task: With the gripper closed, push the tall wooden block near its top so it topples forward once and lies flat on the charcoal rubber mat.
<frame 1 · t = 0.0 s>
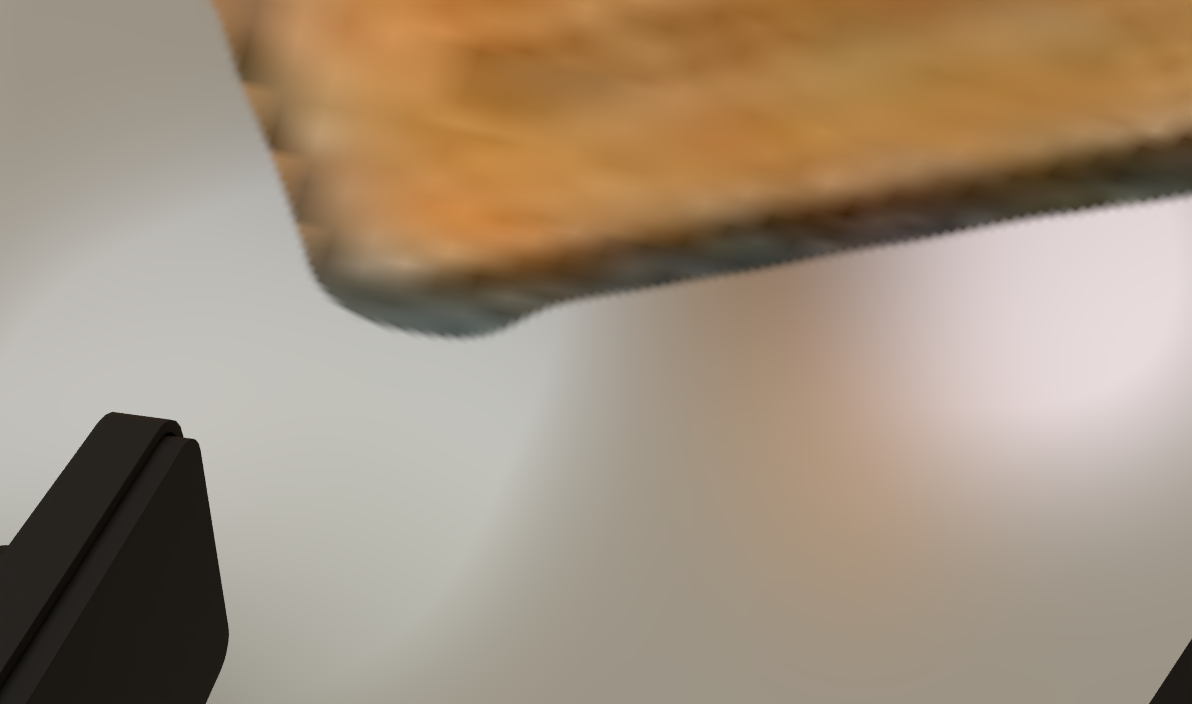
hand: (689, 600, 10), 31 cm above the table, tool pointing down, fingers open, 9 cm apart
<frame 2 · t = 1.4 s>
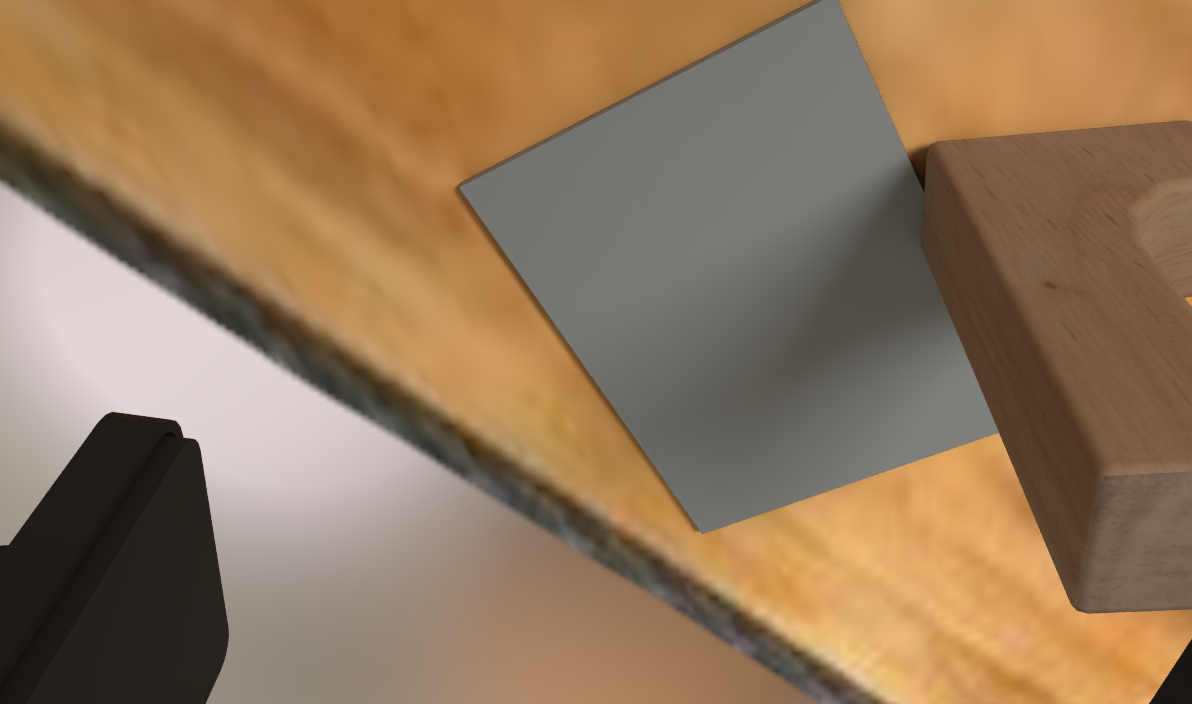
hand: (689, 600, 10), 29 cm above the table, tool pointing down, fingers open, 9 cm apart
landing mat: (756, 305, 43), on the table
wooden block: (1048, 183, 39), on the table, touching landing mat
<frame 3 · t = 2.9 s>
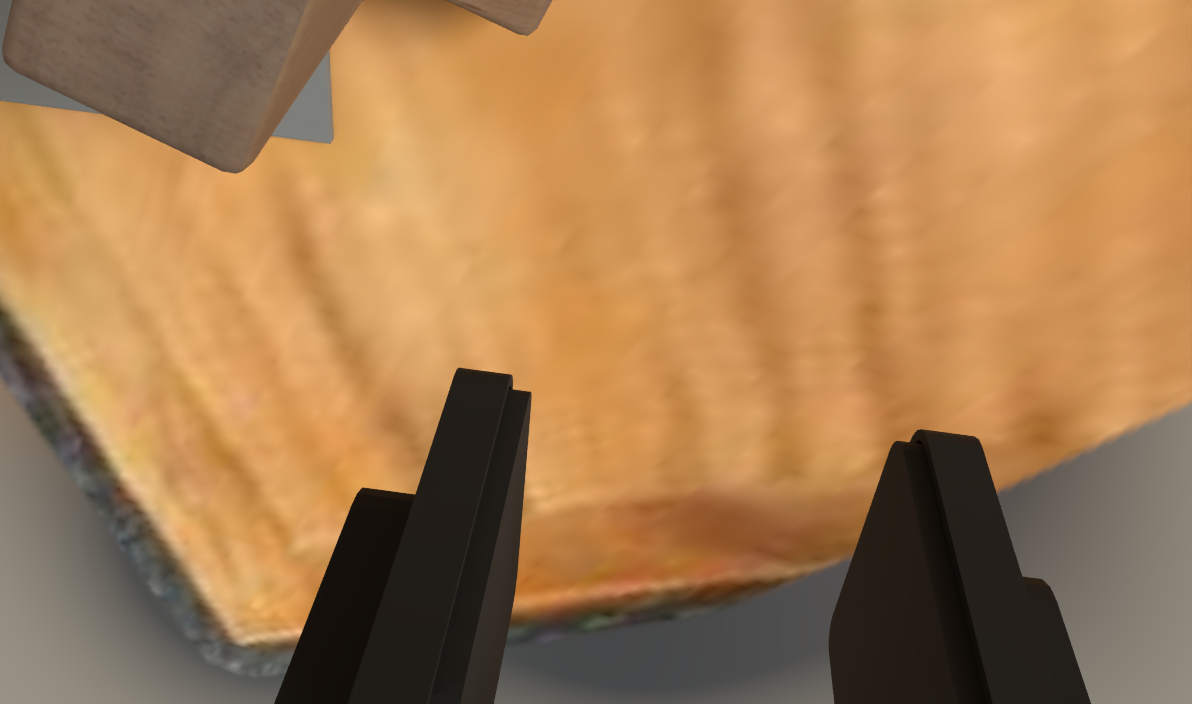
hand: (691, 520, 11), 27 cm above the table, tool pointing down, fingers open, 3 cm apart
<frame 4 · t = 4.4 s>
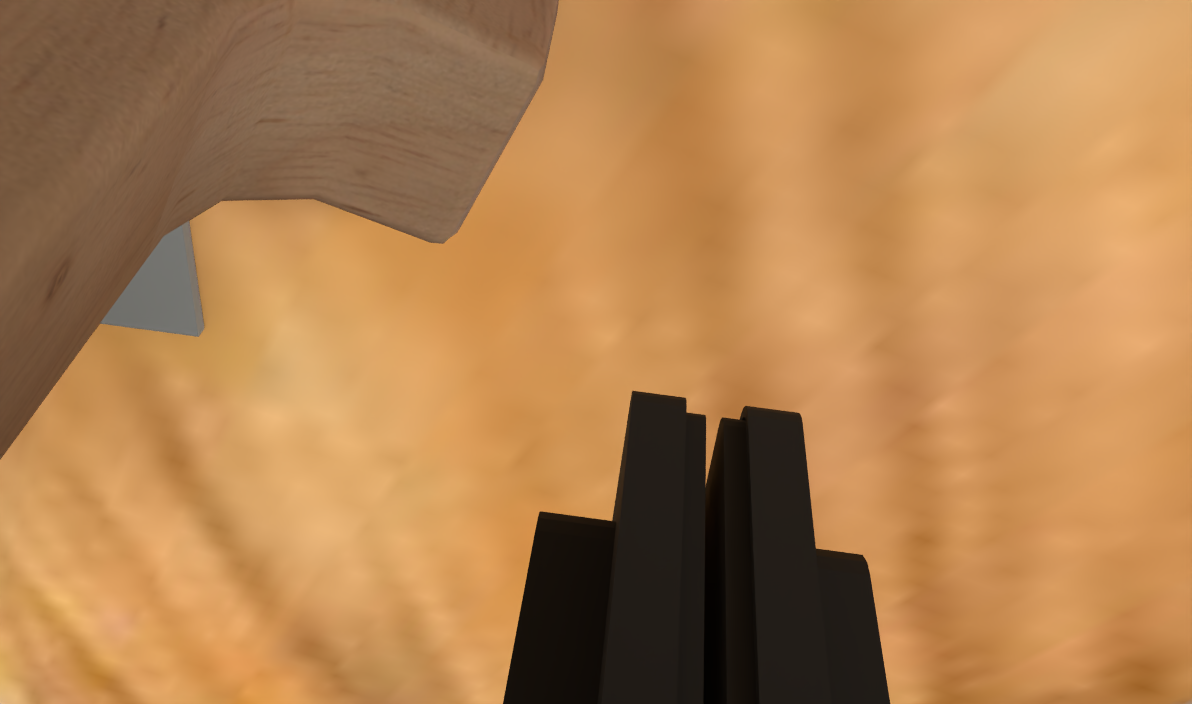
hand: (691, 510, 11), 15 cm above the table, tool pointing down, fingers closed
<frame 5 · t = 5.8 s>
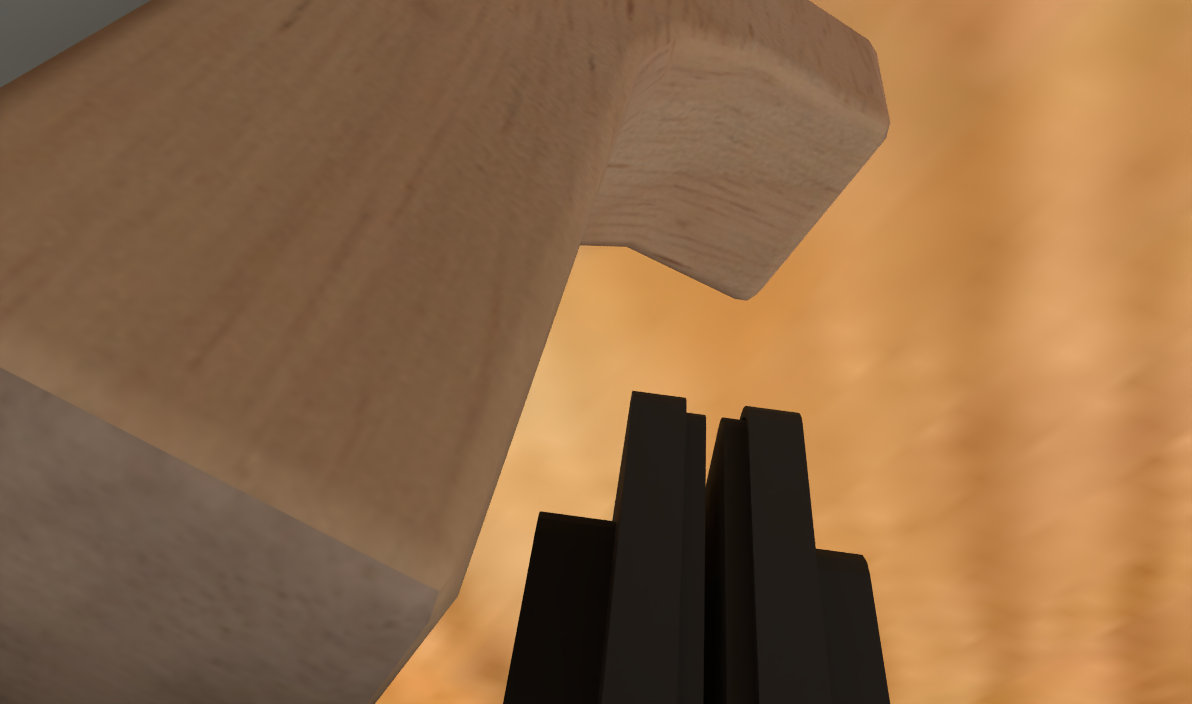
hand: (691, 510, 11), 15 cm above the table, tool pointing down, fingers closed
wooden block: (639, 15, 22), point 1 cm above the table, touching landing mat
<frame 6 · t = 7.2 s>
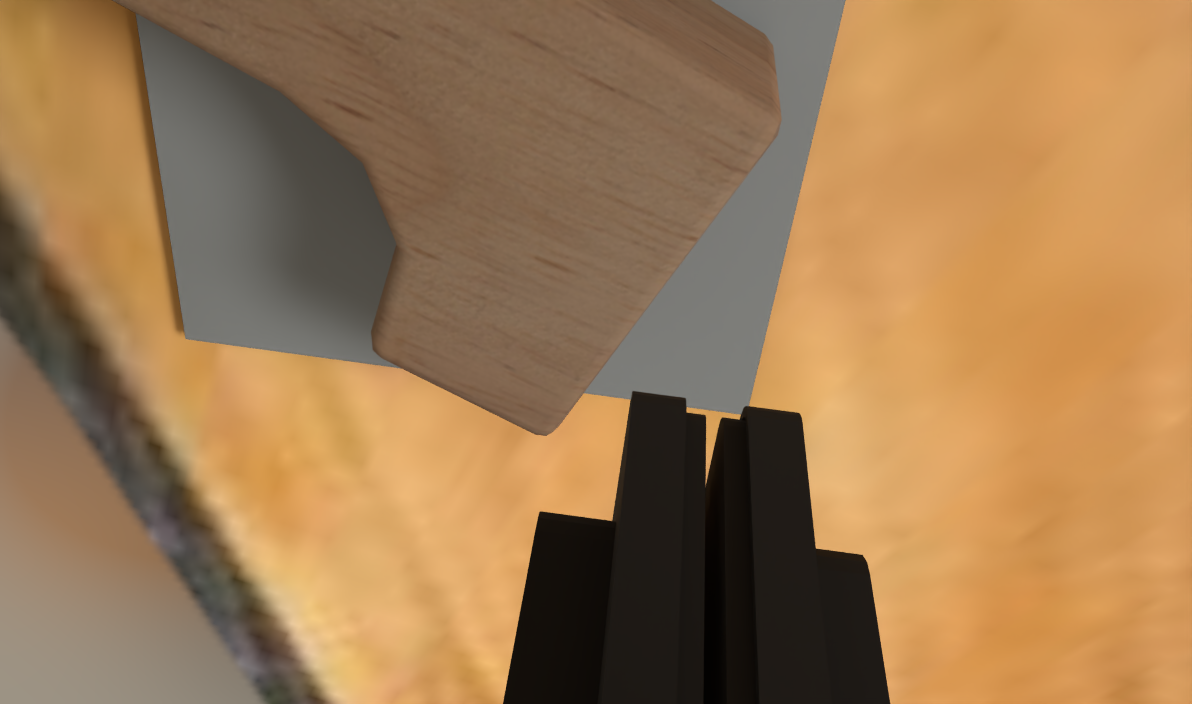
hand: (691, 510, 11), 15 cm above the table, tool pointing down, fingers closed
wooden block: (668, 253, 23), point 3 cm above the table, touching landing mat
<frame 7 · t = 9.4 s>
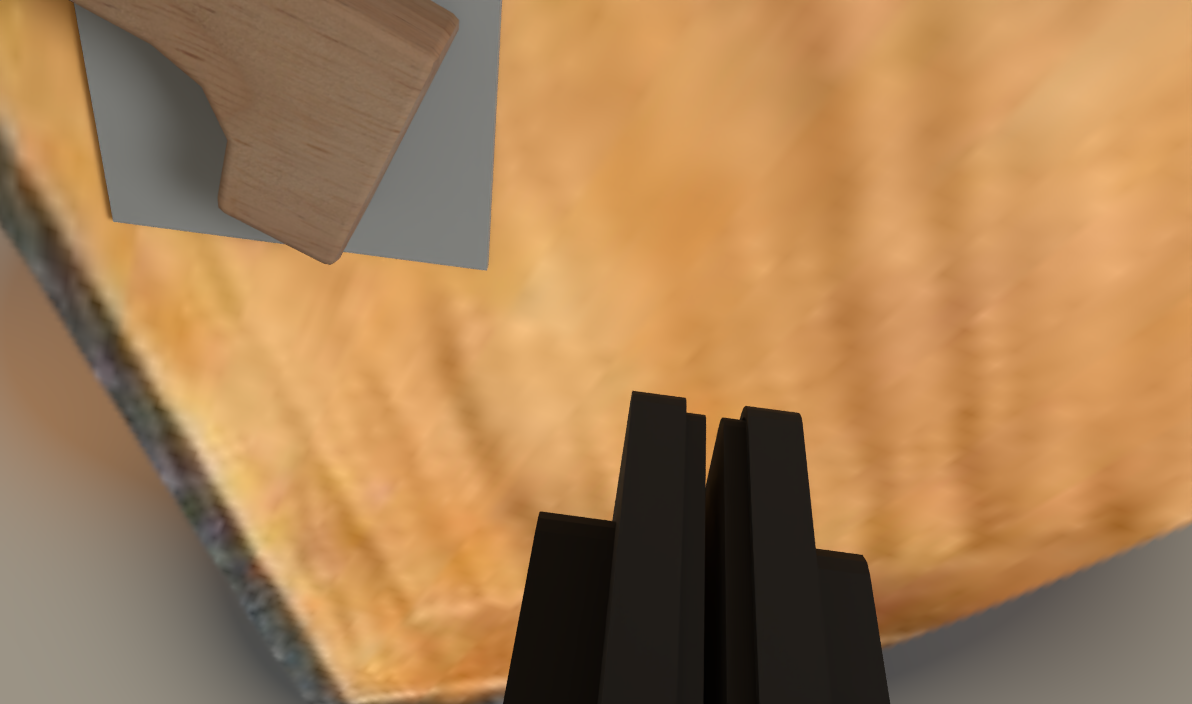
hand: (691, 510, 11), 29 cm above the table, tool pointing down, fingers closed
wooden block: (403, 149, 38), point 3 cm above the table, touching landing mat
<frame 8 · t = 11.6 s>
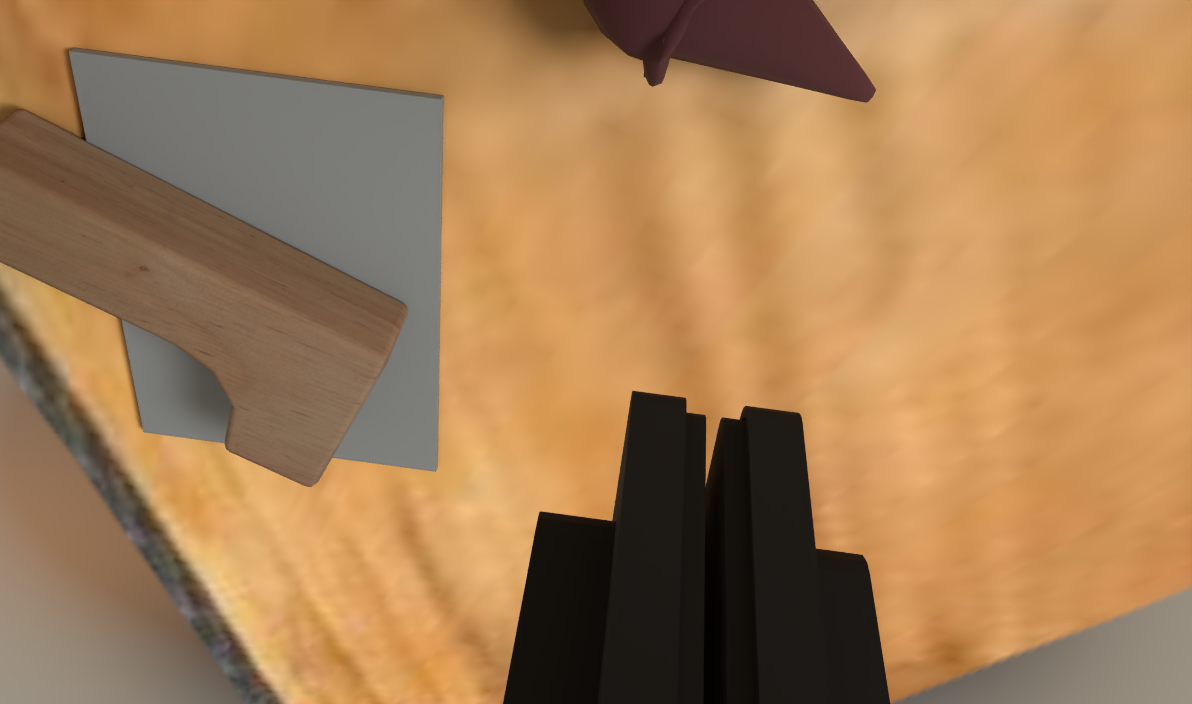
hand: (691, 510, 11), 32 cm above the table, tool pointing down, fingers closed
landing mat: (277, 281, 49), on the table
wooden block: (366, 401, 49), point 3 cm above the table, touching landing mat
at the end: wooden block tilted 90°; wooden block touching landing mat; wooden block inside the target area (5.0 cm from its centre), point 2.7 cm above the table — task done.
